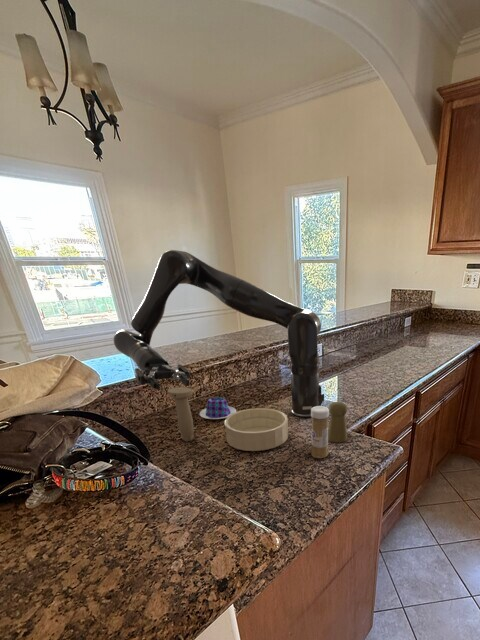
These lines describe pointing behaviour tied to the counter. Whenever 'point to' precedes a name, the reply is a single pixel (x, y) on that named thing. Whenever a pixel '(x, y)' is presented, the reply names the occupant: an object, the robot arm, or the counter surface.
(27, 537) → the counter surface
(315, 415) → the sprinkles bottle
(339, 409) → the green pepper mill
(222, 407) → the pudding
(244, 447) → the bowl
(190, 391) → the handle
